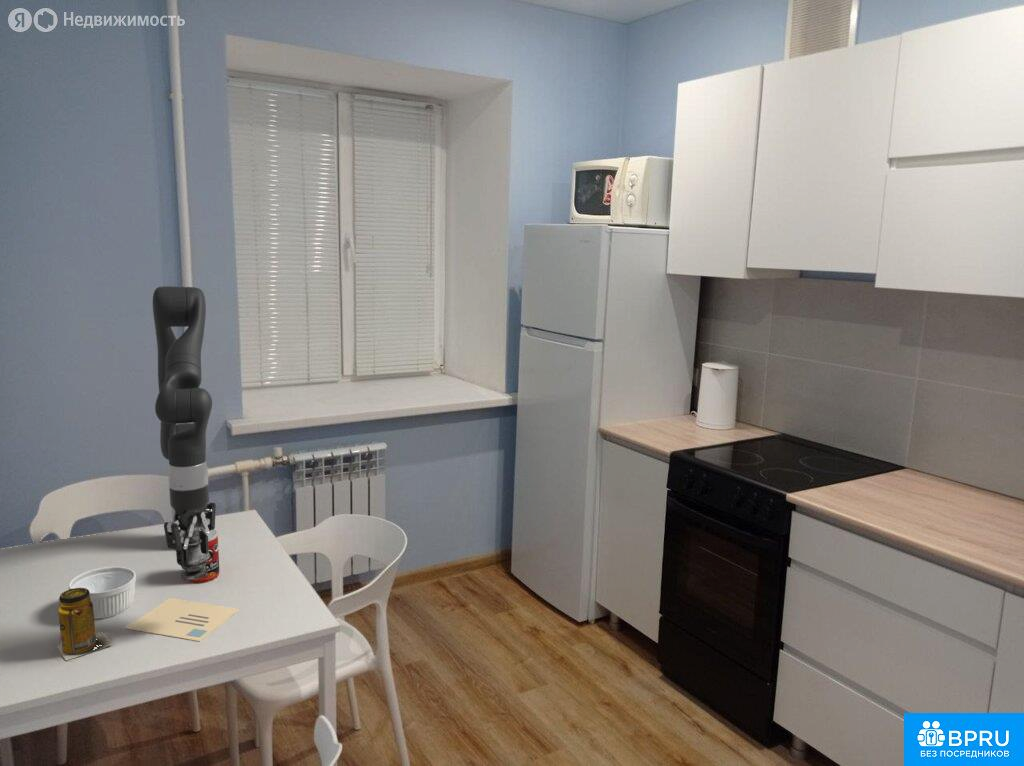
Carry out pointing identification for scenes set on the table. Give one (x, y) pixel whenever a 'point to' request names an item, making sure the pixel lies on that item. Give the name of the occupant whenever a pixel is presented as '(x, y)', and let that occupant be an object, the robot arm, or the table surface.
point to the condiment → (78, 624)
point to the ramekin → (108, 589)
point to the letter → (183, 619)
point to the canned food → (211, 559)
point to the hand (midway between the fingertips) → (193, 558)
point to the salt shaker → (195, 558)
